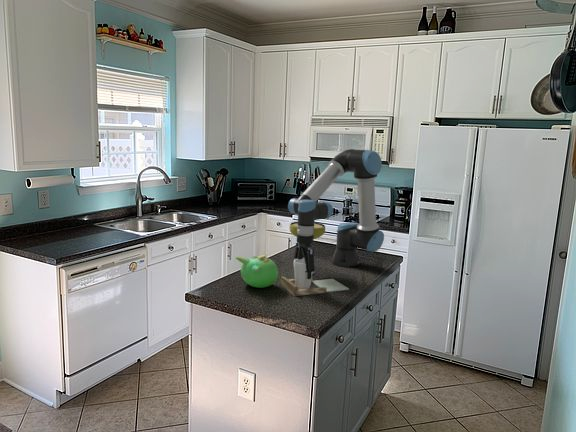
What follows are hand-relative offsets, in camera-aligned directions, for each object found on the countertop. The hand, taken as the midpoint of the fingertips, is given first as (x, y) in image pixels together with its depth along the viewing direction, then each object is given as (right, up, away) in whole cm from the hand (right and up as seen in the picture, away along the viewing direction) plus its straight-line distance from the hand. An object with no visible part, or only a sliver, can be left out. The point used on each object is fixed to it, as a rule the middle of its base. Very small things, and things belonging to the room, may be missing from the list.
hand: (302, 281), depth 203 cm
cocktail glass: (+2, +1, +26) cm, 26 cm away
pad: (+13, -3, +6) cm, 15 cm away
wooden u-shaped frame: (0, -3, +1) cm, 3 cm away
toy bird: (-21, -2, +1) cm, 21 cm away
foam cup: (0, -3, +1) cm, 3 cm away
